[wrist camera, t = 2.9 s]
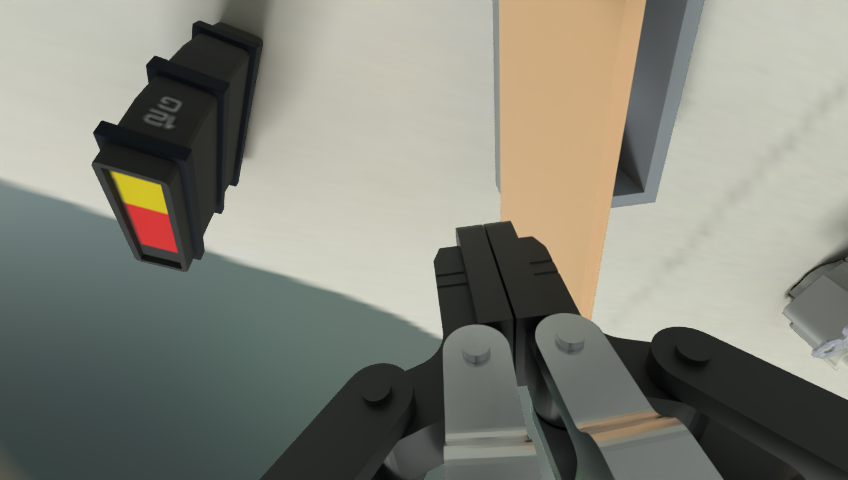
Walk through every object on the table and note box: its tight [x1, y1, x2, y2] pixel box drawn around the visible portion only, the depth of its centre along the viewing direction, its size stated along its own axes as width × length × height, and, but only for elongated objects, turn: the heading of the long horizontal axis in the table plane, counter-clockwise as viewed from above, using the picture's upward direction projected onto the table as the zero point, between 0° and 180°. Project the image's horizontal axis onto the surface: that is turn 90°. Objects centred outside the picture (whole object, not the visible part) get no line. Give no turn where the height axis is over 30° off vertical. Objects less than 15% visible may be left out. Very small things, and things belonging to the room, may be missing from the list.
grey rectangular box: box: [493, 0, 704, 208], centre depth 28 cm, size 22×11×6 cm, turn 7°
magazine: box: [92, 21, 263, 272], centre depth 27 cm, size 4×13×15 cm, turn 157°
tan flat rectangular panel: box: [499, 0, 646, 321], centre depth 21 cm, size 22×11×1 cm
